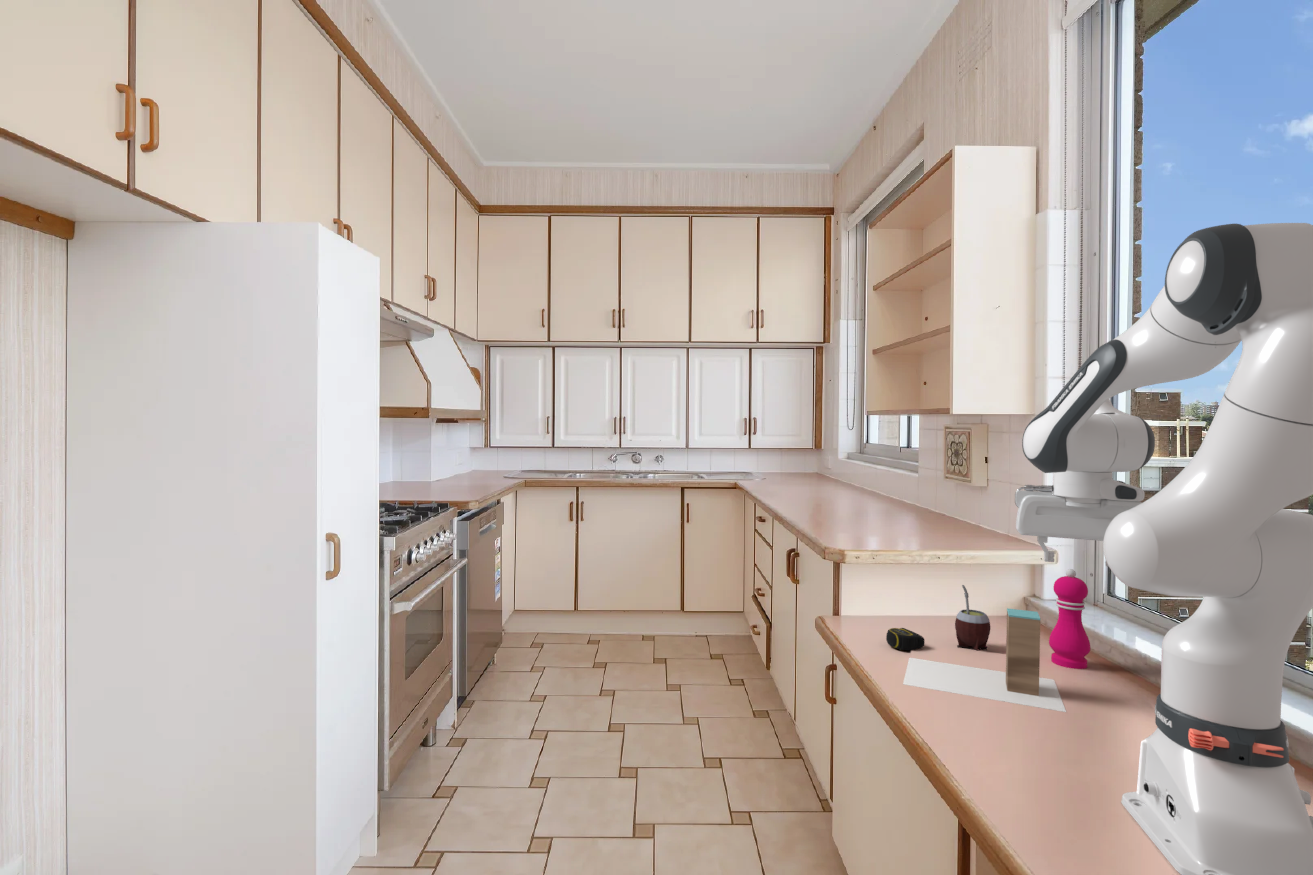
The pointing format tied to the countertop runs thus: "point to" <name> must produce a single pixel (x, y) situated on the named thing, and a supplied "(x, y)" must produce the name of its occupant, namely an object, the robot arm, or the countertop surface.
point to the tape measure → (904, 639)
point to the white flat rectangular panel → (978, 683)
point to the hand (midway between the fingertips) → (1079, 564)
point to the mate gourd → (972, 628)
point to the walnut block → (1023, 651)
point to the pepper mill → (1070, 623)
